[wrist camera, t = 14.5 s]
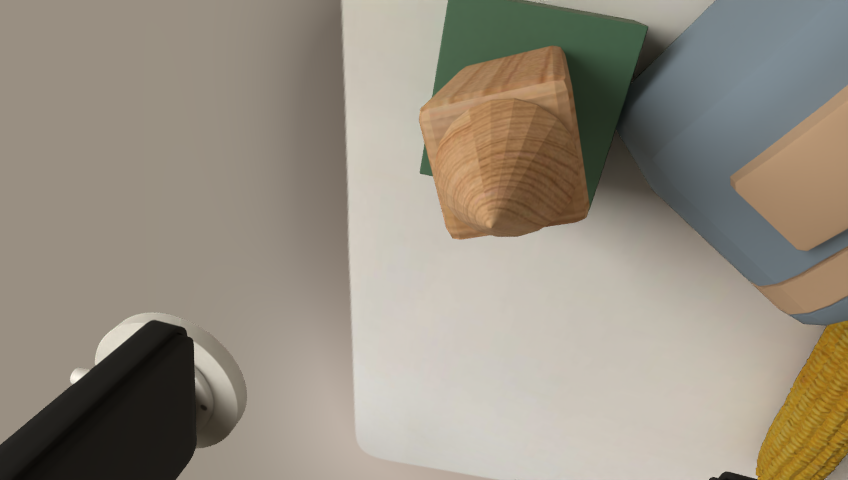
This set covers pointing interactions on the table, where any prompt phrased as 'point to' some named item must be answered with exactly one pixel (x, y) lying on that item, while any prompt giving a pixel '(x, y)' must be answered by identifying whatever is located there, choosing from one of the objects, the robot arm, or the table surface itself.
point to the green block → (541, 27)
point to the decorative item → (507, 146)
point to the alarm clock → (756, 144)
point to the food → (811, 416)
